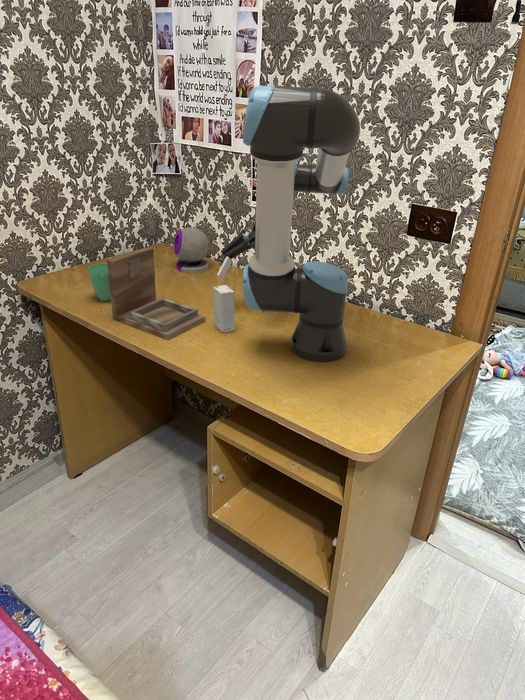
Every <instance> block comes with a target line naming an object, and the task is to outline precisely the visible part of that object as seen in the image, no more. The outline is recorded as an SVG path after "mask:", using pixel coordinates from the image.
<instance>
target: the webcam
mask: <svg viewBox="0 0 525 700" xmlns="http://www.w3.org/2000/svg"><path fill="white" fill-rule="evenodd" d="M209 243H210V242H209V239H208V238H207V235H206V234H205V233H204V232H203V231H202V230H200V229H199V228H196V227H190V226H188V227H185V228H182V229H181V230H179V231H178V232H177V233H176V234H175V237H174V242H173V251H174V254H175V255H176V256H177V258H178V259H177V260H176V264H175V268H176V270H177V271H180V272H181V273H184V274H197V273H202V272H206V271H207V270H208V269H209V267H210V266H209V264H210V263H209V262H208V261H207V260H206V259H204V258H206V256H207V255H208V252H209V248H210V244H209Z"/></svg>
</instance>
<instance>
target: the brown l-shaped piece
mask: <svg viewBox="0 0 525 700" xmlns="http://www.w3.org/2000/svg"><path fill="white" fill-rule="evenodd" d="M154 253H155V252H154V248H152V247H146V248H143V249H139V250H136V251H133V252H129V253H126V254H123V255H120V256H116V257H114V258H110V259H107V260H106V261H107V262H106V263H107V265H108V275H109V285H110V295H111V300H110V302H111V314H112V315H111V316H112V319H113V320H115V321H117V322H120V323H123V324H125V325H128V326H129V327H133V328H135V329H138V330H141V331H143V332H146V333H148V334H151V335H154V336H155V337H159V338H161V339H164V340H167V341H170V340H171V339H173V338H176V337H177V336H179V335H181V334H183V333H185V332H187V331H189V330H191V329H193V328H195V327H197V326H199V325H201V324H204V323H205V322H206V316H204V315H202V314H199V311H198V309H197V308H194V307H190V306H188V305H184V304H182V303H179V302H176V301H173V300H170V299H167V298H165V297H162V298H159V299H157V293H156V290H157V289H156V274H155V273H156V272H155V256H154V255H155V254H154Z"/></svg>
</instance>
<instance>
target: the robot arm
mask: <svg viewBox="0 0 525 700" xmlns="http://www.w3.org/2000/svg"><path fill="white" fill-rule="evenodd" d="M247 100H248V101H247V106H246V110H245V115H244V116H245V117H244V125H243V132H242V133H243V134H242V143H243V145H246V146H248V147H249V148H250V149H249V155H250V156H251V157H252V158H253V159H254V160H255V162H256V185H255V186H256V190H255V193H256V194H255V195H256V196H255V199H256V200H255V221H254V223H253V225H252V230H251V231H250V232H248V231H246V230H245V229H244V228H242V229H241V230H240V232H239V233H238V235H237V236H236V237H234V239H231V241H230V242H229V243H228V244H227V245H226V246H224V247H223V248H222V249H221V250H220V253H221V254H222V256H223V259H222V260H221V263H220V264H219V265H220V268H219V271H218V272H217V274H216V276H217V277H218V278H219V279H220V280H222V281H223V280H224V278H225V277H226V275H227V272H228V271H229V269H230V267H231V265H232V263H233V259H234V258H236V257H238V256H239V255H241V254H243V253H244V252H246V251H249V250H251V249H253V250H254V255H253V256H252V257H251V258H250V259H249V261H248V264H245V265H244V267H243V270H242V292H243V298H244V302H245V305H246V306H247V308H249V309H250V310H255V311H260V312H276V313H289V314H291V313H292V314H299V318H298V322H297V325H296V326H295V328H294V331H293V333H292V335H291V338H290V350H291V351H292V352H293V353H294V354H295V355H297V356H298V357H300V358H303V359H306V360H309V361H315V362H331V360H332V361H336V360H339V359H341V358H342V357H344V356H345V355H344V354H346V353H345V352H347V343H348V342H347V339H346V334H345V330H344V325H343V324H344V315H345V308H346V307H345V306H346V298H347V293H348V281H349V280H348V279H349V278H348V275H347V272H346V271H345V270H343V268H340V267H338V266H337V265H335V264H332V263H329V262H323V261H316V260H314V261H307V262H305V263H304V264H303V266H302V268H300V267H295V266H296V262H295V260H294V259H293V258H292V257H291V256H290V254H291V253H290V252H291V239H292V238H291V237H292V221H293V205H294V202H295V200H296V198H297V197H298V195H299V193H312V194H323V195H324V194H326V195H333V196H335V195H344V194H346V193H347V191H348V187H349V177H350V170H349V168H348V167H347V162H348V158H349V156H350V153H351V152H352V151H353V150H354V149H355V148H356V146H357V144H358V142H359V138H360V136H361V123H360V119H359V117H358V114H357V112H356V110H355V108H354V106H352V104H351V103H350V102H349V101H348V100H347V99H346V98H345V97H344V96H342V95H341V94H340V93H338V92H335V91H334V90H332V89H328V88H324V87H317V88H316V87H303V86H289V85H288V86H287V85H275V84H272V85H257V86H254V87H253V88H252V89H251V90H250V94H249V96H248V99H247ZM304 149H317V151H318V152H317V159H316V164H303V163H297V162H298V161H299V160H301V159H302V157H303V156H304ZM343 355H344V356H343ZM340 357H341V358H340ZM338 358H339V359H338Z"/></svg>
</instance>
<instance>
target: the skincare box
mask: <svg viewBox="0 0 525 700" xmlns="http://www.w3.org/2000/svg"><path fill="white" fill-rule="evenodd" d="M212 289H213V291H212V292H213V316H214V317H213V321H214V322H213V323H214V326H215V327H216V328H217V329H218V330H219V331H220V332H221V333H228V332H234V331H235V329H236V326H235V324H236V321H235V320H236V319H235V318H236V317H235V316H236V315H235V313H236V311H235V310H236V309H235V291H234V290H233V289H231V287H230V286H228V285H226V284H223V285H217V286H213V288H212Z"/></svg>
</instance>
